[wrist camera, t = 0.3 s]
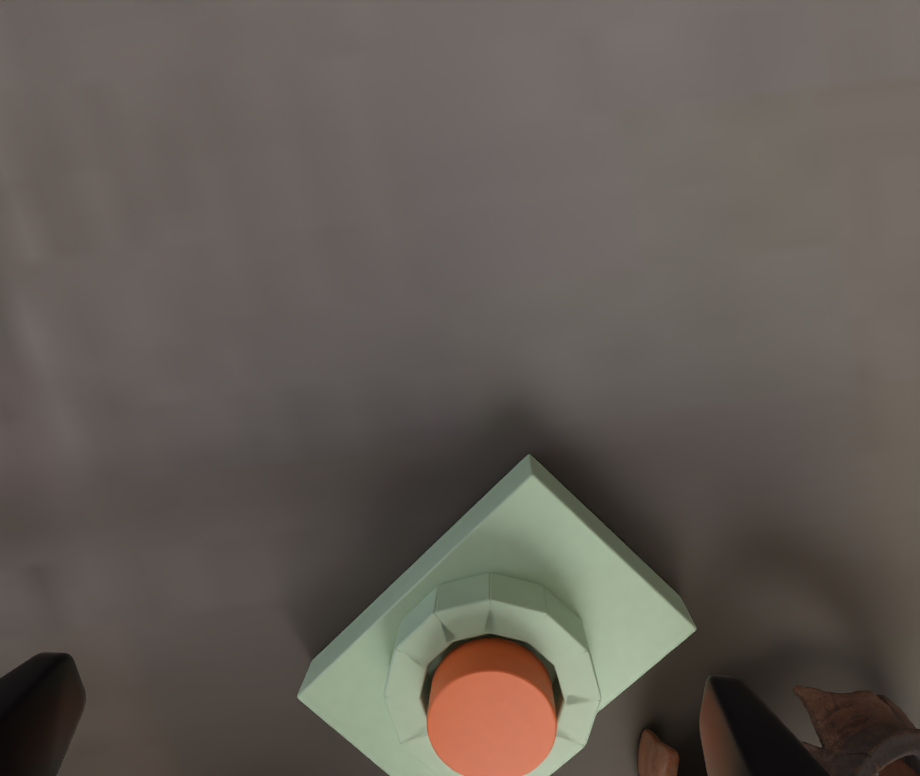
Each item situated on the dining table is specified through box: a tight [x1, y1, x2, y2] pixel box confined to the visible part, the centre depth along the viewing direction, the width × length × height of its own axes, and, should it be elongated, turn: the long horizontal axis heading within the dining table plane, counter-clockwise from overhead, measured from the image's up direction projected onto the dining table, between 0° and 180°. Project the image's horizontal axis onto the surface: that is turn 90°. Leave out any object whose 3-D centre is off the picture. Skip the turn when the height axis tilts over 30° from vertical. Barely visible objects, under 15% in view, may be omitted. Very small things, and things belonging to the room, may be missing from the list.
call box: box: [297, 454, 697, 776], centre depth 24 cm, size 12×8×4 cm, turn 136°
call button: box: [427, 638, 557, 776], centre depth 22 cm, size 4×4×2 cm
